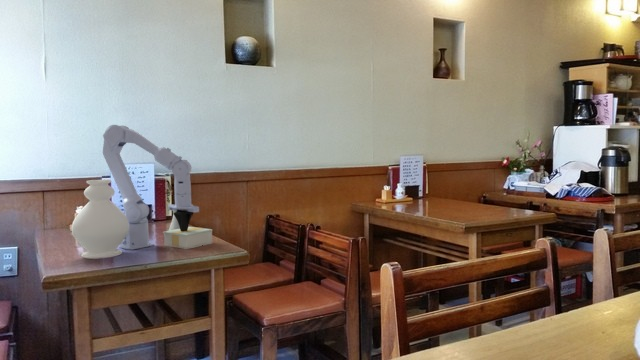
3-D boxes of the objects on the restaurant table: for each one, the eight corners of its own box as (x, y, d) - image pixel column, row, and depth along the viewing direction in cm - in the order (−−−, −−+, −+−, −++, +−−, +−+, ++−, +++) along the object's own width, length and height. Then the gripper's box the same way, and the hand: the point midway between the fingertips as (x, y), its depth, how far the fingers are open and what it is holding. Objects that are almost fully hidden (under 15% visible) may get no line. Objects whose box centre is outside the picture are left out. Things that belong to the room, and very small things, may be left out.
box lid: (185, 236, 181) (185, 234, 181) (162, 233, 189) (162, 231, 188) (212, 231, 192) (212, 229, 192) (189, 228, 199) (189, 226, 199)
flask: (175, 235, 210) (174, 210, 209) (164, 233, 214) (163, 209, 214) (190, 232, 216) (189, 208, 215) (179, 231, 220) (178, 207, 219)
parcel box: (186, 249, 182) (186, 236, 182) (164, 245, 189) (163, 233, 189) (212, 243, 192) (211, 231, 192) (190, 240, 199) (189, 228, 199)
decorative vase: (113, 247, 188) (110, 177, 186) (140, 253, 177) (137, 179, 175) (63, 255, 174) (59, 181, 172) (89, 263, 163) (85, 183, 161)
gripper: (205, 193, 187) (206, 231, 188) (178, 191, 195) (179, 227, 196) (189, 195, 181) (191, 234, 182) (162, 193, 189) (164, 230, 190)
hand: (184, 231), depth 189 cm, fingers closed, pressing on box lid
